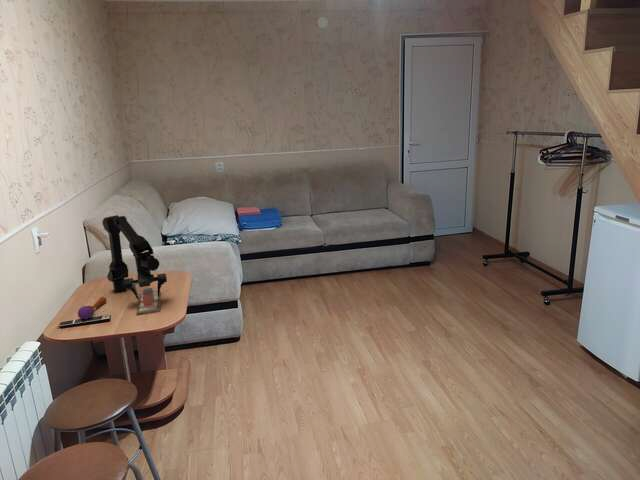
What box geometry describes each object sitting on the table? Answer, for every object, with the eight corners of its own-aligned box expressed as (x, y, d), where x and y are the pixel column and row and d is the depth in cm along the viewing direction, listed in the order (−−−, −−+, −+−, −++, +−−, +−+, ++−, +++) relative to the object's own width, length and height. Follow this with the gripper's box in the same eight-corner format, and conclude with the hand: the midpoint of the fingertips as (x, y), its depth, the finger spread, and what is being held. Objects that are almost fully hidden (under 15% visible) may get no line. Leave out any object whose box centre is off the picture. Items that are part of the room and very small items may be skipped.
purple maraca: (109, 295, 224) (88, 309, 204) (108, 306, 225) (88, 322, 205) (97, 293, 223) (75, 307, 204) (96, 305, 225) (74, 320, 205)
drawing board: (139, 296, 230) (139, 293, 230) (160, 292, 233) (160, 290, 233) (136, 315, 208) (136, 313, 208) (160, 311, 211) (159, 309, 211)
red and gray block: (145, 297, 225) (143, 288, 223) (153, 296, 226) (152, 287, 225) (143, 306, 215) (142, 297, 213) (153, 304, 216) (151, 295, 214)
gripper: (119, 275, 205) (125, 307, 210) (164, 268, 211) (169, 300, 215) (122, 267, 216) (127, 298, 220) (164, 261, 221) (168, 292, 225)
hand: (148, 297), depth 220 cm, fingers open, 9 cm apart
